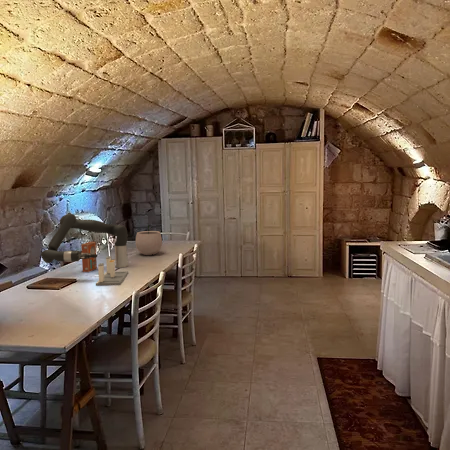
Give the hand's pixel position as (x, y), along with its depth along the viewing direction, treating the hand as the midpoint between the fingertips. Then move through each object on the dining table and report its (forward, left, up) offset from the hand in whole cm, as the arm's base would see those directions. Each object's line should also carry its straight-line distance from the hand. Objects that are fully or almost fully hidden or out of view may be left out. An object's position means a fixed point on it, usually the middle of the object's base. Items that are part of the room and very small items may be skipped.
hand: (97, 255), depth 299 cm
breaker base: (-4, +9, -17) cm, 20 cm away
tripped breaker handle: (-4, +9, -15) cm, 18 cm away
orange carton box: (-23, -26, -17) cm, 39 cm away
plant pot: (-95, -16, -17) cm, 98 cm away
